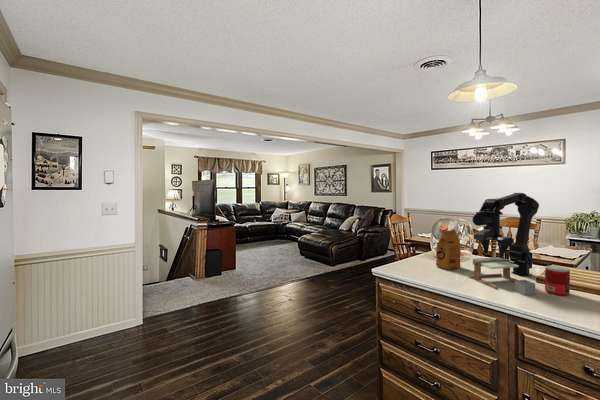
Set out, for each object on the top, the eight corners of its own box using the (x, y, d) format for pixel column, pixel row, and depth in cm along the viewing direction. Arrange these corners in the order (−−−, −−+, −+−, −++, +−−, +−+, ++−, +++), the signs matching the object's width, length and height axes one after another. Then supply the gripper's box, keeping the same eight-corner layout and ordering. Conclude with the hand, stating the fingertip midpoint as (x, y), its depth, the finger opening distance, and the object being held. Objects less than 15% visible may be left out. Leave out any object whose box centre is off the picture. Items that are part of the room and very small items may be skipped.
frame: (468, 277, 149) (468, 259, 148) (501, 275, 151) (501, 257, 150) (494, 289, 132) (494, 268, 132) (530, 286, 134) (530, 265, 134)
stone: (524, 290, 129) (524, 279, 129) (535, 294, 124) (535, 283, 124) (514, 291, 129) (514, 280, 129) (524, 295, 124) (524, 284, 124)
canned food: (571, 297, 120) (572, 271, 120) (546, 294, 124) (546, 269, 124) (567, 291, 127) (567, 266, 126) (543, 288, 131) (543, 264, 130)
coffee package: (433, 266, 171) (432, 229, 171) (449, 263, 176) (448, 227, 175) (447, 270, 162) (446, 231, 161) (463, 267, 166) (463, 229, 166)
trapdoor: (472, 264, 148) (472, 258, 148) (497, 262, 150) (497, 257, 150) (491, 271, 136) (491, 265, 136) (518, 269, 137) (518, 263, 137)
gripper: (465, 222, 153) (465, 252, 153) (493, 227, 134) (494, 260, 135) (484, 221, 154) (484, 250, 155) (514, 226, 136) (515, 259, 137)
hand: (493, 255), depth 145 cm, fingers open, 9 cm apart
